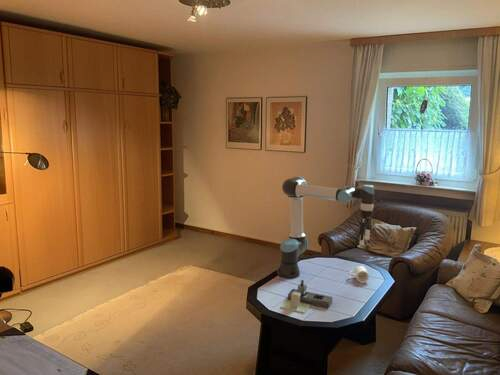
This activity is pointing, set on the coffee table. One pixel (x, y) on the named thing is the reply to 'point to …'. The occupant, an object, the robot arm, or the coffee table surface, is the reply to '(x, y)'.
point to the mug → (360, 274)
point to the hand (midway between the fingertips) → (364, 242)
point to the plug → (295, 300)
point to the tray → (301, 309)
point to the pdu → (311, 297)
